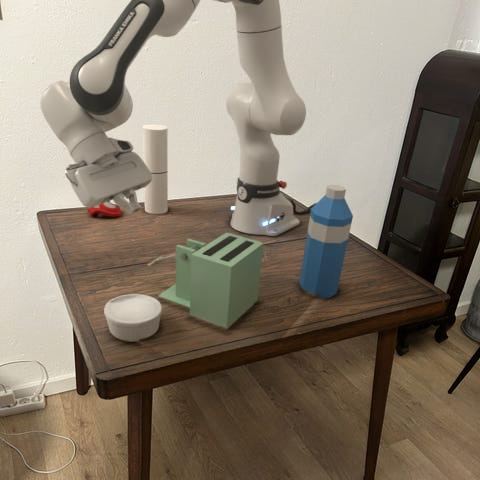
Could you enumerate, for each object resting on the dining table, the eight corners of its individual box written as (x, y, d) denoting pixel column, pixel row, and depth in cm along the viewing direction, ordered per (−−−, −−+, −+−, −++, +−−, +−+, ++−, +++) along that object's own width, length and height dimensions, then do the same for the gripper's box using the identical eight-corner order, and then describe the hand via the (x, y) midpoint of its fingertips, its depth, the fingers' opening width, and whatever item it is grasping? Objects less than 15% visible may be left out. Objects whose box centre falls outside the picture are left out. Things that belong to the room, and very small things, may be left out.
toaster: (188, 319, 104) (190, 253, 96) (222, 292, 115) (226, 231, 107) (226, 333, 101) (231, 266, 93) (257, 304, 112) (264, 242, 104)
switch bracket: (158, 300, 110) (157, 245, 103) (180, 284, 117) (181, 231, 109) (199, 315, 106) (202, 259, 99) (221, 298, 113) (224, 244, 105)
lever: (149, 271, 110) (144, 261, 109) (163, 263, 114) (159, 253, 113) (191, 260, 103) (186, 250, 102) (204, 252, 107) (200, 241, 106)
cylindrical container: (163, 215, 153) (162, 131, 139) (141, 212, 154) (138, 127, 140) (170, 207, 159) (170, 126, 145) (149, 204, 160) (147, 123, 146)
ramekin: (143, 309, 106) (142, 288, 103) (173, 333, 99) (173, 311, 96) (95, 325, 99) (93, 303, 97) (123, 352, 93) (122, 329, 90)
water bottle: (312, 301, 115) (331, 196, 101) (291, 283, 121) (306, 182, 108) (344, 294, 118) (367, 192, 105) (322, 277, 125) (340, 179, 112)
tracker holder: (128, 211, 150) (99, 210, 142) (124, 224, 152) (95, 223, 145) (108, 191, 155) (79, 189, 148) (104, 204, 158) (76, 202, 150)
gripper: (67, 158, 96) (110, 217, 97) (134, 140, 111) (170, 192, 113) (53, 176, 100) (95, 233, 101) (120, 156, 115) (155, 206, 117)
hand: (135, 211), depth 107 cm, fingers closed
